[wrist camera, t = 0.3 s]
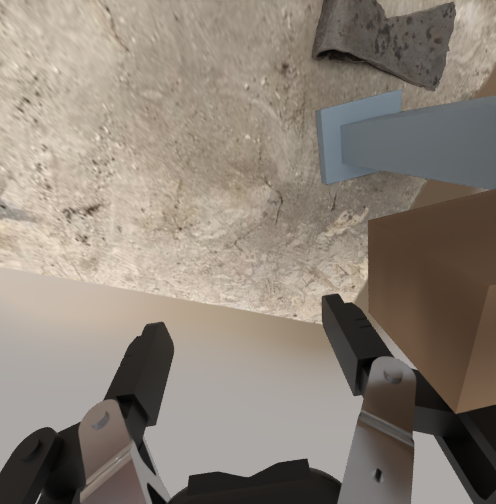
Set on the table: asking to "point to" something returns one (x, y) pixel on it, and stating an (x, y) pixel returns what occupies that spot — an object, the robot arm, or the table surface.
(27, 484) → the robot arm
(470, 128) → the stand
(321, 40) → the axe head
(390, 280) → the marking gauge
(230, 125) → the table surface
